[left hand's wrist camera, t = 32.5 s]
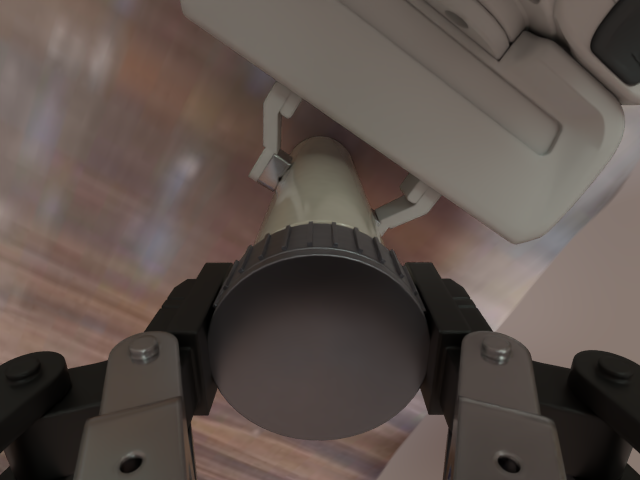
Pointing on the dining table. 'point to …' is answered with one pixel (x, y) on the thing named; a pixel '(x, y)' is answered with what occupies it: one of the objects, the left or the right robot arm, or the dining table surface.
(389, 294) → the lid
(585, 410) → the left robot arm
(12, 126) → the dining table surface
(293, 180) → the bottle
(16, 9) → the dining table surface
